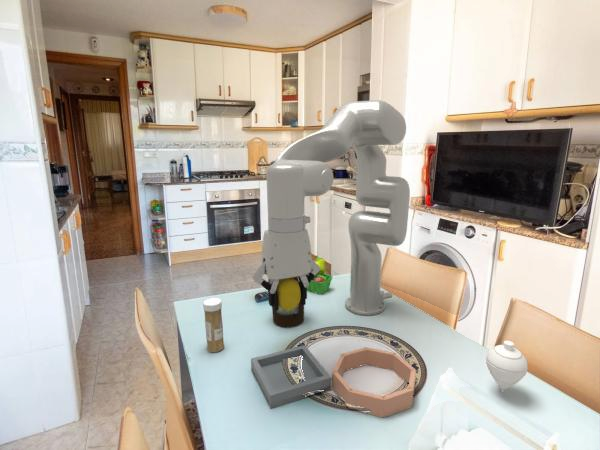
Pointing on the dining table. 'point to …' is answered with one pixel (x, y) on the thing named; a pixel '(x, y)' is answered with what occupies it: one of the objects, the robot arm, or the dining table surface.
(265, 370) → the grey tray
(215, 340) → the sprinkles bottle
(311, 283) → the fruit basket
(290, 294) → the lemon
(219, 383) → the dining table surface
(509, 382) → the spinning top
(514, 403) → the dining table surface
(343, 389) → the terracotta ring
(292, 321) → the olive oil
